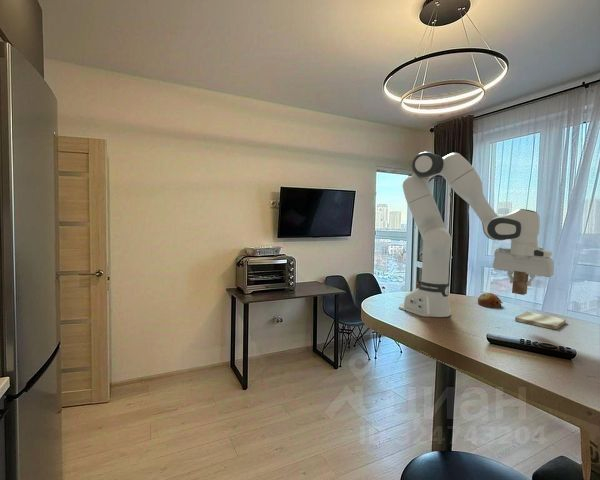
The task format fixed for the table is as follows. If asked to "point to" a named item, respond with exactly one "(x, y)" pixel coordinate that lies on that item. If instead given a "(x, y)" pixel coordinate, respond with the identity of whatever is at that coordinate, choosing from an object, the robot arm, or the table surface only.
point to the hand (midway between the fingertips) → (520, 284)
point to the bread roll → (489, 300)
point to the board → (541, 320)
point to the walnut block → (519, 283)
